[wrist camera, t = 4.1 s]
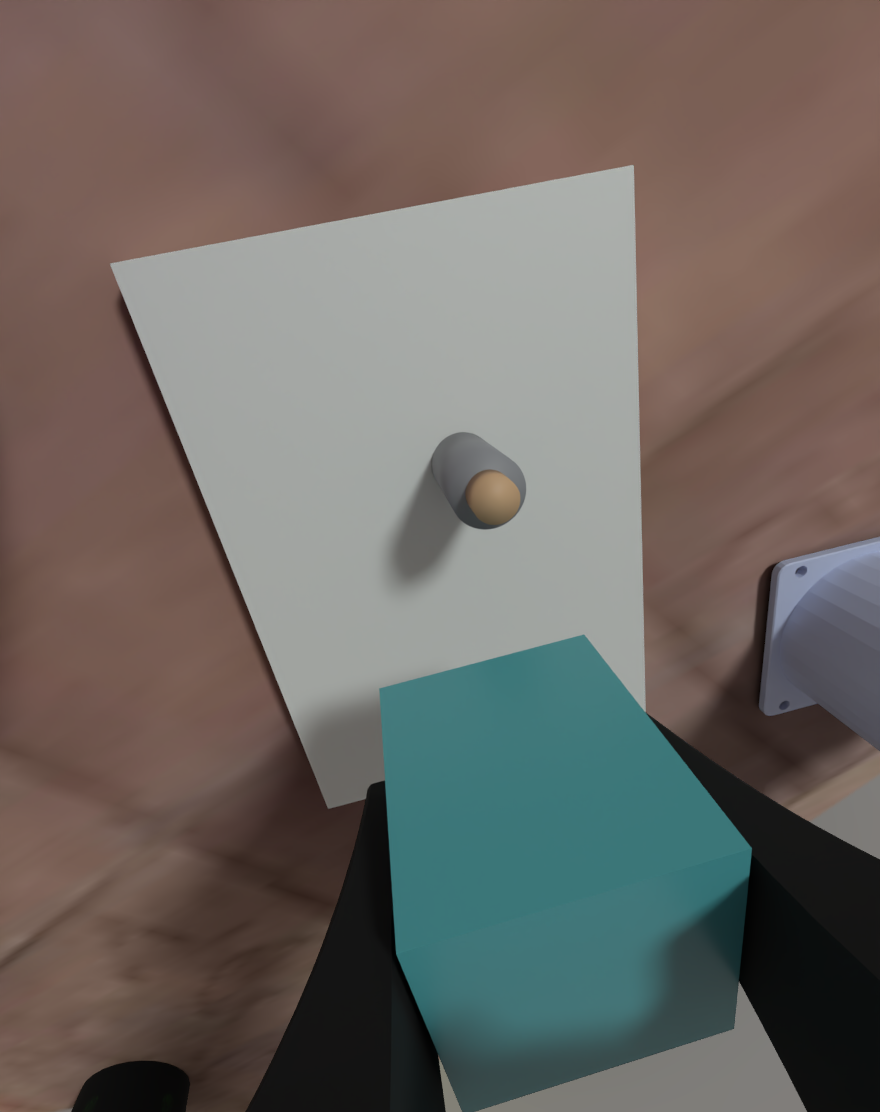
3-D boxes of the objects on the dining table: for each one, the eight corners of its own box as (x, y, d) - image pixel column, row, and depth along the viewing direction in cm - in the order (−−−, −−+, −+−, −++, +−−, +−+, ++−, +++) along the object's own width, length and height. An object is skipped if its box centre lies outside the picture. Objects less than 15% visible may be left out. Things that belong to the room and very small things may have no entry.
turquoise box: (584, 634, 12) (751, 848, 7) (597, 781, 14) (734, 1029, 9) (379, 688, 11) (395, 952, 6) (424, 830, 14) (463, 1115, 9)
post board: (616, 176, 14) (747, 88, 9) (634, 709, 22) (709, 808, 18) (126, 269, 13) (-4, 224, 9) (329, 789, 21) (320, 917, 17)
